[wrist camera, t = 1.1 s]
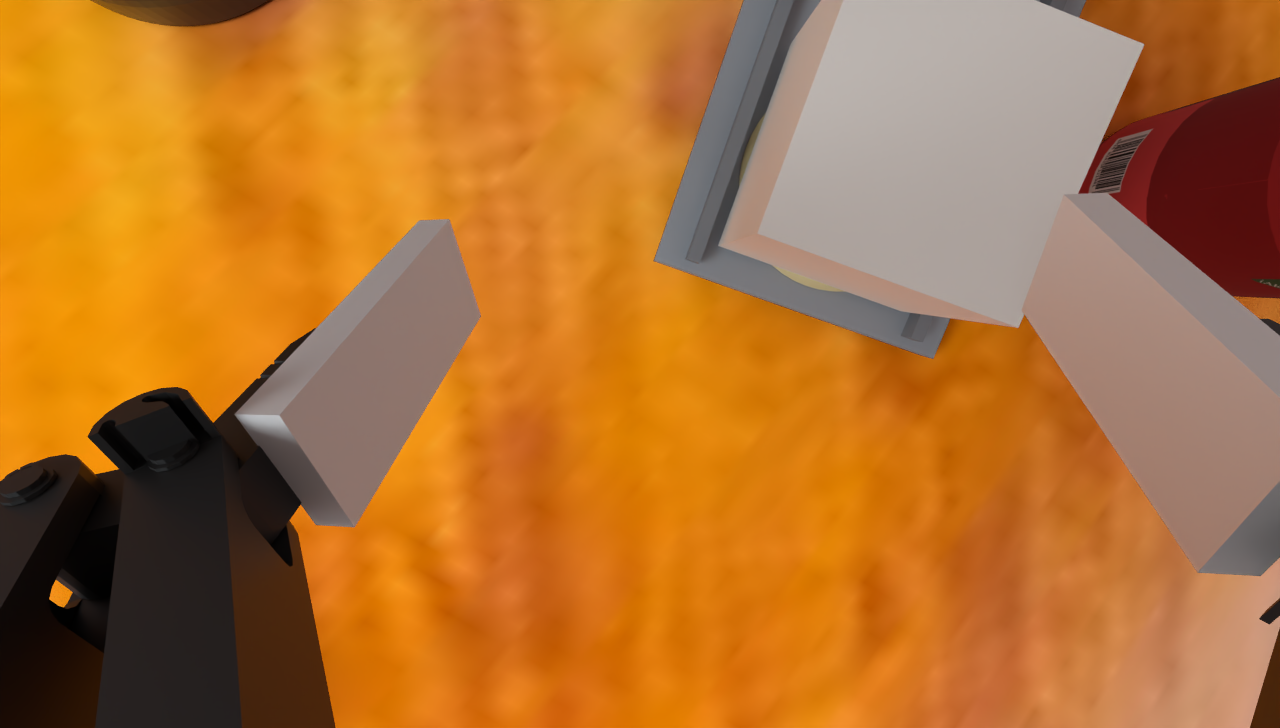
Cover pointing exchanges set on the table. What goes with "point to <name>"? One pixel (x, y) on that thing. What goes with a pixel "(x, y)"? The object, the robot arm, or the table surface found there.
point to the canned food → (1206, 184)
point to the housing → (928, 149)
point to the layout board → (717, 170)
